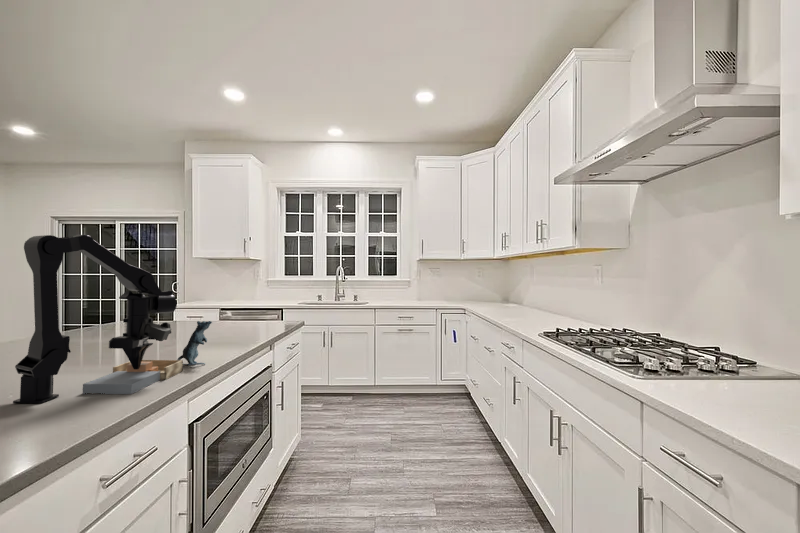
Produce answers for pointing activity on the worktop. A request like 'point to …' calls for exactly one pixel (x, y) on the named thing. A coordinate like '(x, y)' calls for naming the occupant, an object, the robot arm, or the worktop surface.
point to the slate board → (121, 382)
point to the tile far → (154, 369)
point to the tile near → (143, 367)
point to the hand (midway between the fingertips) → (136, 369)
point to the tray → (159, 367)
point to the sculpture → (195, 343)
